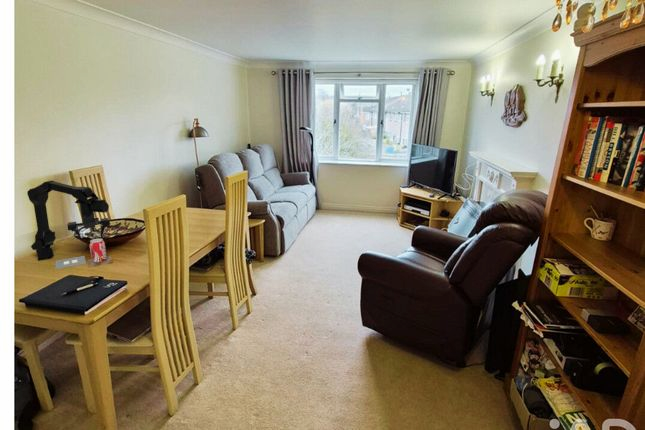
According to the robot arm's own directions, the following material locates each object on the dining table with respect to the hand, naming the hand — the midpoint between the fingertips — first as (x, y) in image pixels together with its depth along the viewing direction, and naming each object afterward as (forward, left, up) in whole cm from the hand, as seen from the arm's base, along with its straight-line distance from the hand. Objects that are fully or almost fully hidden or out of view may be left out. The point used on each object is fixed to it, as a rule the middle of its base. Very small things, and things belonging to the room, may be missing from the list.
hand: (91, 239), depth 186 cm
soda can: (+2, -4, -12) cm, 13 cm away
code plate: (-11, +3, -12) cm, 17 cm away
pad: (+2, -4, -12) cm, 13 cm away
